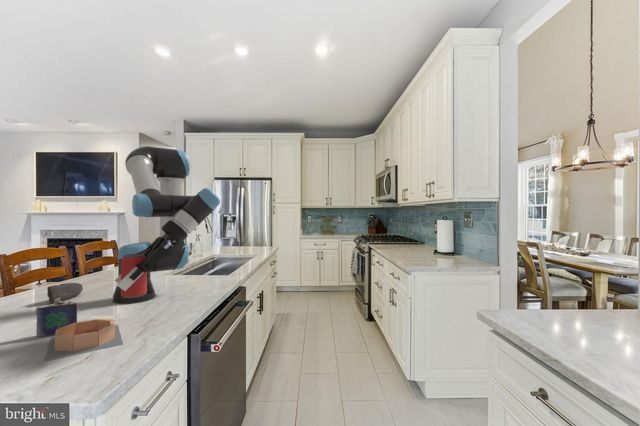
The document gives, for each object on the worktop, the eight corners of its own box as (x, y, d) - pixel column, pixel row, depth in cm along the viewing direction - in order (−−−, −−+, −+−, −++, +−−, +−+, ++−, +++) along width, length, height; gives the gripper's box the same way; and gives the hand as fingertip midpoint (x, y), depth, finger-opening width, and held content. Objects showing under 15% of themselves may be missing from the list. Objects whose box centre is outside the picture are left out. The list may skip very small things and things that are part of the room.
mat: (51, 338, 87) (51, 337, 87) (117, 326, 97) (117, 324, 97) (43, 363, 73) (43, 361, 73) (123, 345, 82) (123, 344, 82)
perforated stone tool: (77, 294, 134) (77, 278, 134) (87, 295, 133) (87, 279, 133) (41, 304, 120) (41, 286, 120) (52, 305, 119) (52, 287, 119)
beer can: (135, 299, 86) (134, 256, 86) (115, 297, 87) (114, 256, 87) (152, 292, 92) (151, 253, 92) (133, 291, 94) (132, 253, 93)
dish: (57, 338, 86) (57, 325, 86) (112, 328, 94) (112, 316, 94) (53, 355, 76) (53, 340, 76) (115, 342, 83) (115, 328, 83)
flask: (35, 339, 86) (35, 301, 86) (38, 335, 89) (38, 299, 89) (76, 333, 91) (76, 297, 91) (78, 329, 94) (78, 295, 94)
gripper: (197, 237, 92) (135, 300, 81) (180, 233, 107) (126, 286, 97) (178, 219, 88) (111, 284, 78) (163, 218, 103) (105, 272, 93)
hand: (119, 285), depth 87 cm, fingers closed on beer can, 6 cm apart
